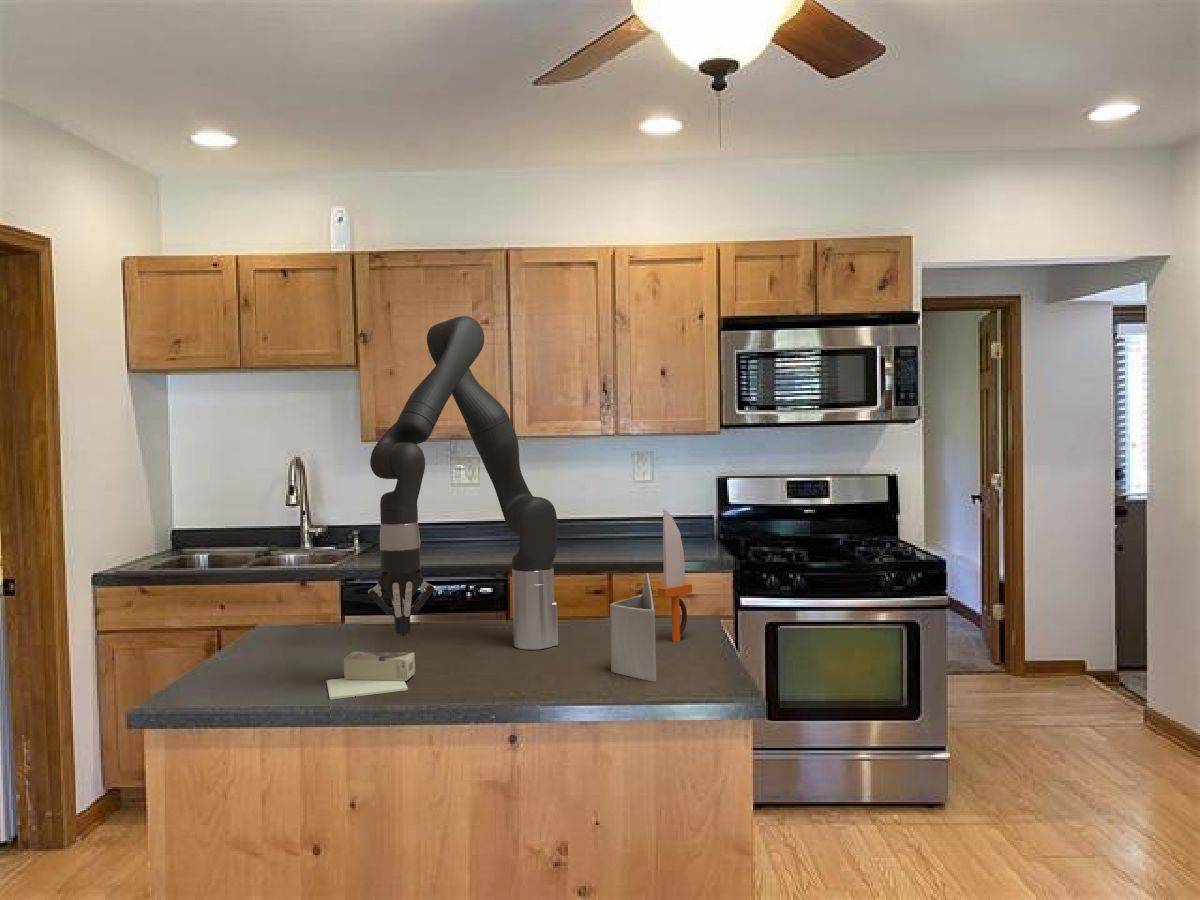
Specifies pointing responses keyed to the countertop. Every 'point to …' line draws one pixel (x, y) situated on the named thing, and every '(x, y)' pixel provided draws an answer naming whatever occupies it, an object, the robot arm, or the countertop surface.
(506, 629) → the countertop surface
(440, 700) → the countertop surface
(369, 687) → the sage mat
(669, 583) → the knife
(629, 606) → the planter
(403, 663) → the box
